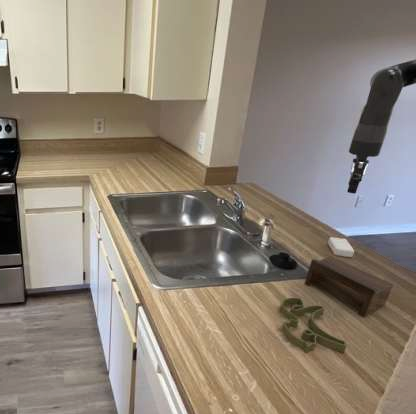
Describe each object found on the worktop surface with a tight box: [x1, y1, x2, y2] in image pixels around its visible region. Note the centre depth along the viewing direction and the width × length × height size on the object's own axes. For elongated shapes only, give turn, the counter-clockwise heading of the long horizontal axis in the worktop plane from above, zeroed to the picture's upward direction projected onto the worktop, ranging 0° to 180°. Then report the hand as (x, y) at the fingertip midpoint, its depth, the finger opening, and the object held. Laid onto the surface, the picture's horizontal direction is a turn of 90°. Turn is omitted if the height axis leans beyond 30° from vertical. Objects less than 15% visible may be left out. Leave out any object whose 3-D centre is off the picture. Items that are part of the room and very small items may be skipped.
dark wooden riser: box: [304, 255, 394, 318], centre depth 93 cm, size 10×16×8 cm, turn 27°
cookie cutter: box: [280, 297, 347, 354], centre depth 82 cm, size 18×12×2 cm, turn 168°
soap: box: [327, 236, 355, 258], centre depth 116 cm, size 9×6×3 cm, turn 160°
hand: (351, 189), depth 107 cm, fingers open, 8 cm apart
